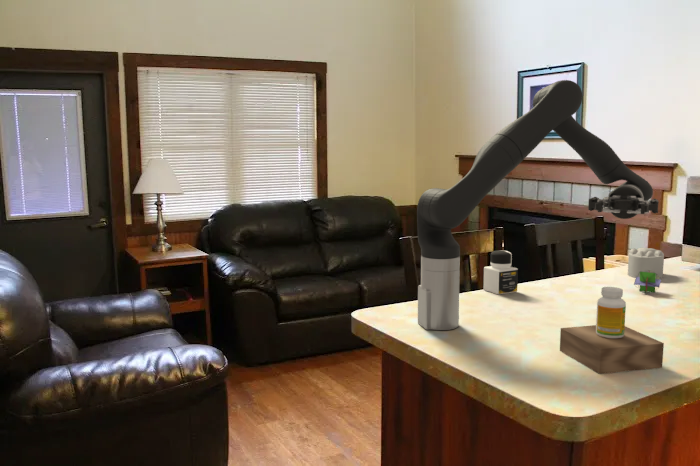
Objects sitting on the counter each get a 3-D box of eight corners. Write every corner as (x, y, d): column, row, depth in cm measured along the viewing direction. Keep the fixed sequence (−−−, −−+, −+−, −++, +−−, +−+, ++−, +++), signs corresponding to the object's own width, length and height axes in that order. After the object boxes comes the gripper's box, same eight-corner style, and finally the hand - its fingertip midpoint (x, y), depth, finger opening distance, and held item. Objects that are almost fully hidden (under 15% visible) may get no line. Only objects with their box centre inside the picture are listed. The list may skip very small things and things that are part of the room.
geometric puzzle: (657, 290, 179) (661, 265, 182) (631, 287, 182) (635, 262, 185) (659, 301, 184) (663, 276, 187) (633, 298, 188) (637, 273, 191)
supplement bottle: (626, 339, 127) (629, 292, 125) (598, 338, 128) (600, 291, 127) (621, 331, 132) (623, 286, 131) (593, 330, 133) (595, 285, 132)
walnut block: (599, 374, 122) (600, 349, 122) (559, 350, 136) (560, 328, 135) (662, 367, 125) (663, 343, 125) (617, 345, 139) (618, 323, 138)
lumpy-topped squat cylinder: (663, 273, 211) (665, 247, 210) (661, 281, 200) (663, 254, 198) (629, 270, 216) (631, 245, 215) (625, 277, 205) (626, 251, 203)
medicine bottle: (498, 295, 184) (499, 254, 182) (482, 289, 190) (483, 250, 188) (517, 292, 187) (519, 252, 185) (501, 287, 193) (502, 248, 192)
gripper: (594, 184, 153) (586, 189, 139) (660, 186, 147) (659, 191, 132) (593, 215, 154) (584, 223, 140) (658, 218, 148) (656, 227, 133)
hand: (620, 208), depth 136 cm, fingers open, 8 cm apart
